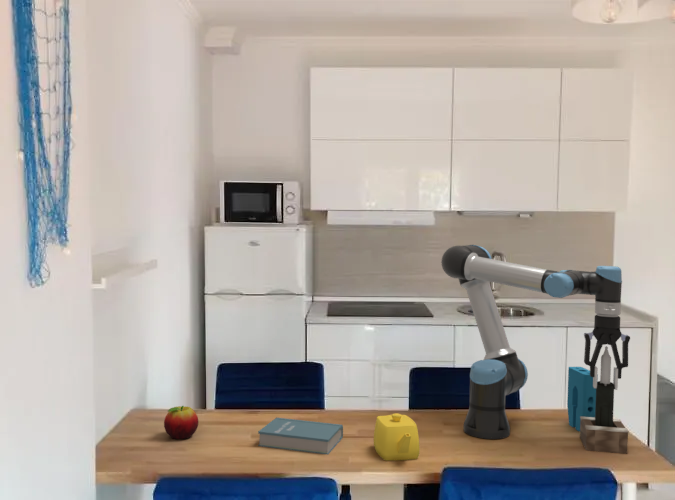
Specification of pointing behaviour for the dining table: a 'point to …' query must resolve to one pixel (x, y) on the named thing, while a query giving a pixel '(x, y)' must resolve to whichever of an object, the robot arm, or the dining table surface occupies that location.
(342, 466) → the dining table surface
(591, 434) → the holder
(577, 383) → the block
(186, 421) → the fruit
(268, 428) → the book
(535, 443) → the dining table surface
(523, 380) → the robot arm
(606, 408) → the grey and black rod
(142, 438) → the dining table surface
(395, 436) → the teapot
